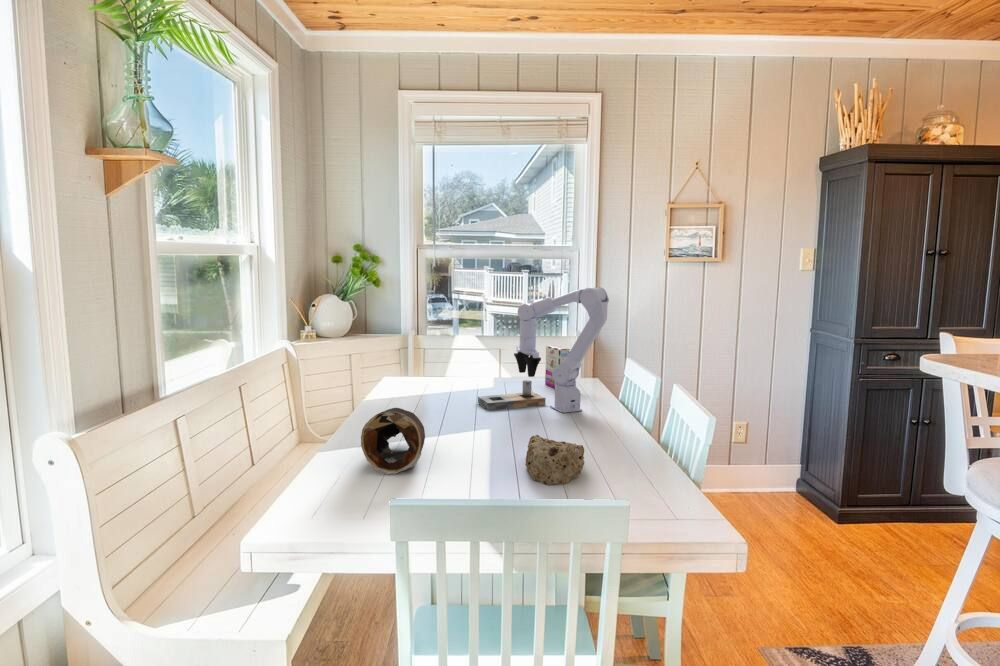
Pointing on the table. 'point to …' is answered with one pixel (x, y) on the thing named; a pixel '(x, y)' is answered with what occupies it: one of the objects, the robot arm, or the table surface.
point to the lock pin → (526, 388)
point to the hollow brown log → (386, 428)
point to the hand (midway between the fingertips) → (526, 374)
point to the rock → (553, 460)
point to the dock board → (510, 401)
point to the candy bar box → (553, 362)
